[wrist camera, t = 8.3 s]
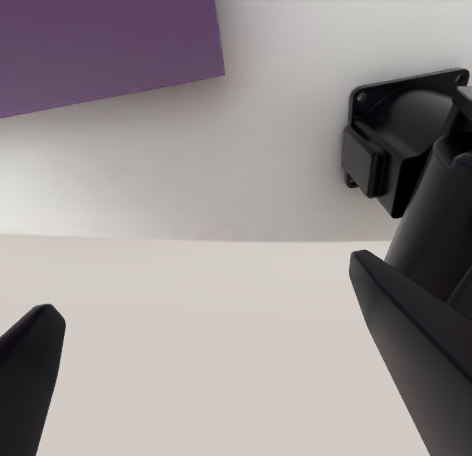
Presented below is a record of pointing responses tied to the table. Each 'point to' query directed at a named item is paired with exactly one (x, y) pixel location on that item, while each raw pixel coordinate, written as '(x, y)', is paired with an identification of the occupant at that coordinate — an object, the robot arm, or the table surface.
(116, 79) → the lid
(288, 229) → the table surface
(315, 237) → the table surface
